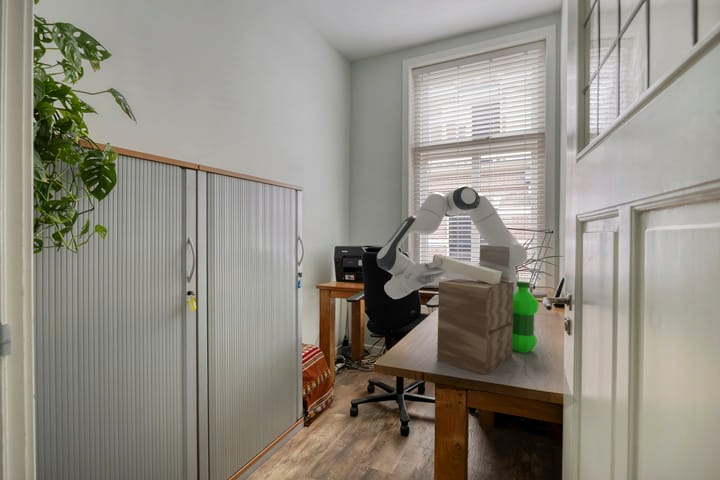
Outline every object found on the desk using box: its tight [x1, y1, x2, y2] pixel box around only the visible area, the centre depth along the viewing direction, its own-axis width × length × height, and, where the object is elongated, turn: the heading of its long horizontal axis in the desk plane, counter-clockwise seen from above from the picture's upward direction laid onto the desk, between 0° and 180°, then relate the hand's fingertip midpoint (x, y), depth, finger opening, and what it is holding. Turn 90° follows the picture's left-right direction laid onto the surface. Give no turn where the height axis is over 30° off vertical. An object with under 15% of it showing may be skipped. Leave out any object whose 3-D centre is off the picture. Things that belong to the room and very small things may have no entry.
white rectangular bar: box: [432, 254, 502, 284], centre depth 120 cm, size 5×24×4 cm, turn 42°
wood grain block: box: [436, 244, 514, 376], centre depth 116 cm, size 22×16×38 cm
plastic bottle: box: [512, 280, 540, 354], centre depth 126 cm, size 10×10×25 cm
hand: (445, 260), depth 126 cm, fingers closed on white rectangular bar, 5 cm apart
